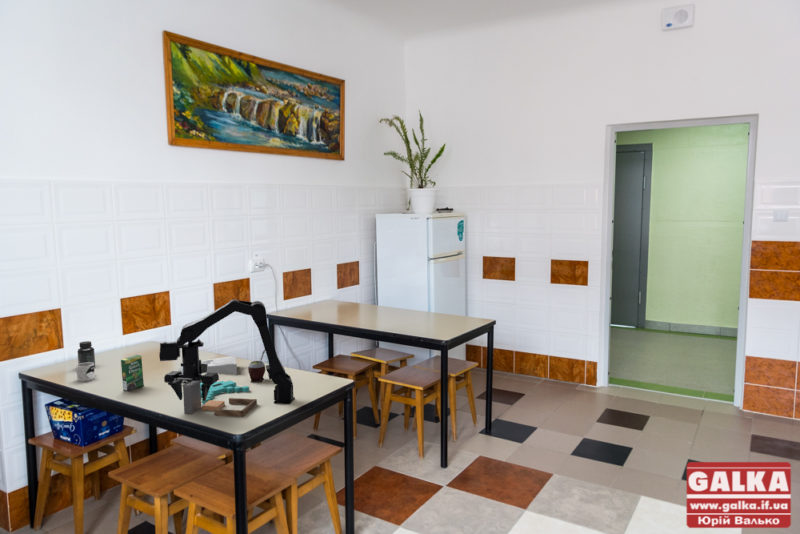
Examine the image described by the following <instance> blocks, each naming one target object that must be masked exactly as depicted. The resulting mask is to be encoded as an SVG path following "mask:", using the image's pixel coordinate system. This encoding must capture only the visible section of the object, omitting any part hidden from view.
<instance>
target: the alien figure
mask: <svg viewBox="0 0 800 534" xmlns="http://www.w3.org/2000/svg"><path fill="white" fill-rule="evenodd" d="M202 384H203V383H202V382H200V386H201V385H202ZM240 392H243V393H248V392H250V386H248V385H244V386H239V385H237V382H236V381H234V380H233V381H232V380H226V381H224V380H220V381H219V380H218V381H217V382H215V383H214V384H212V385H211V386H210V389H209V391H208V394H207V398H206V400H205V401H203V398H202V389H201V405H204V404H205V403H206V402H208V401H209V400H213V399H214V398H215V396H216V395H219V394H223V393H227V394H231V393H236V394H238V393H240Z"/></svg>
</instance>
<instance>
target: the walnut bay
mask: <svg viewBox="0 0 800 534" xmlns="http://www.w3.org/2000/svg"><path fill="white" fill-rule="evenodd" d="M228 404H230V405H246V406H245V407H243V409H223V408H222V409H221V408H220V409H214V411H213V412H214V413H213V414H214V416H225V417H240V418H241V417H242V418H243V417H244V416H245V415H246V414H248V413H249V412H250V411H251V410H253V408H254V407H255V406H257V405H258V399H256V398H243V397H242V398H239V397H238V398H237V397H229V398H228Z"/></svg>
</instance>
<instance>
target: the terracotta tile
mask: <svg viewBox="0 0 800 534" xmlns="http://www.w3.org/2000/svg"><path fill="white" fill-rule="evenodd" d="M225 405H226V404H225V401H224V400H214V399H212V400H209V401H208V402H206V403H205V404H201V410H202V411H212V412H214V409H221V408H222V409H223V407H224V406H225Z"/></svg>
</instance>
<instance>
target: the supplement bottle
mask: <svg viewBox="0 0 800 534" xmlns="http://www.w3.org/2000/svg"><path fill="white" fill-rule="evenodd" d="M92 346H93V344H92V341H85V340H84V341H81V342H79V348H78V349H77V362H78V364H80V363H86V362H92V363H94V368H96V356H95V348H94V347H92Z"/></svg>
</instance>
